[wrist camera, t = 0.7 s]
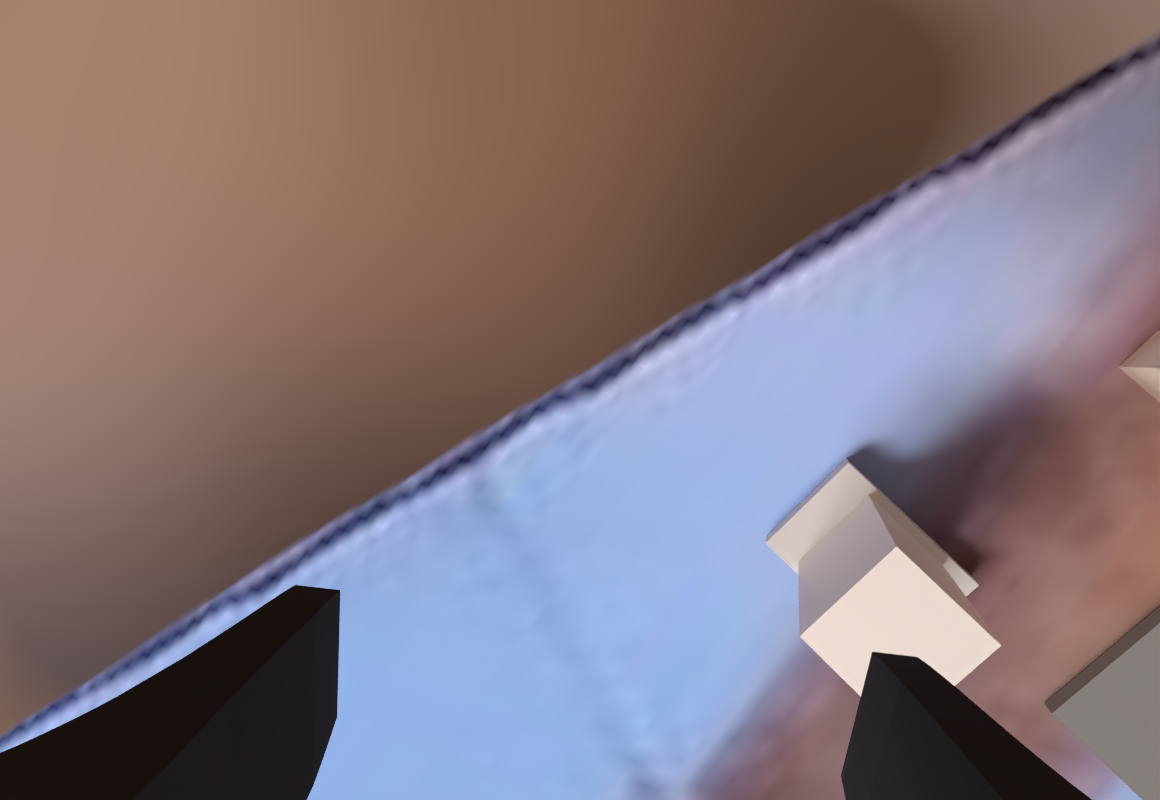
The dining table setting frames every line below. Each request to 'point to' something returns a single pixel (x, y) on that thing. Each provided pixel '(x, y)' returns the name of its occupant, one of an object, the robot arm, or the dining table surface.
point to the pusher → (877, 583)
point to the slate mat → (1120, 707)
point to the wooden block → (1146, 366)
